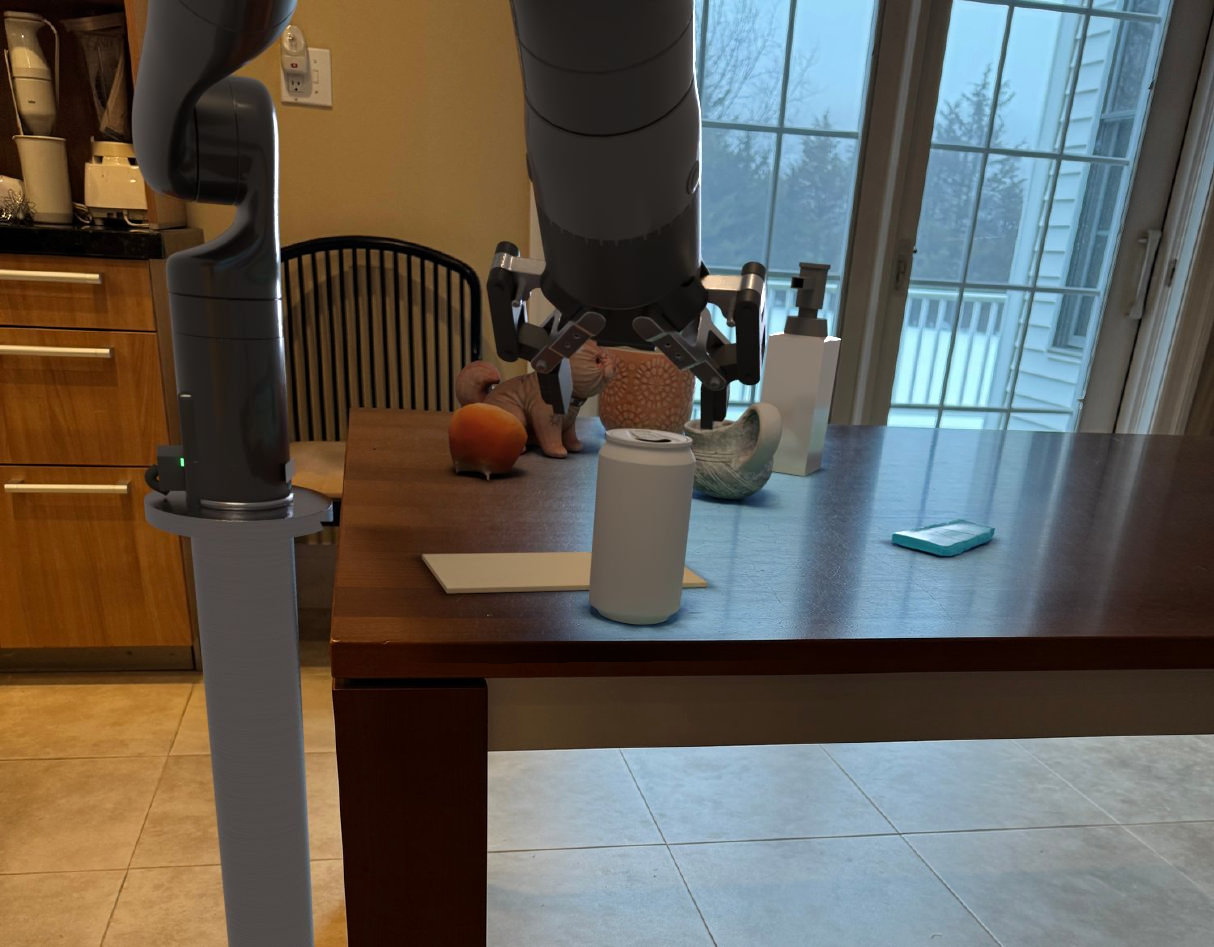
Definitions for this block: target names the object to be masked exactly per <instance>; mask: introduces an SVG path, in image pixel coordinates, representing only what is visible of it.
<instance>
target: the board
mask: <svg viewBox="0 0 1214 947" xmlns="http://www.w3.org/2000/svg"><path fill="white" fill-rule="evenodd" d="M591 555H592V551H569V552H568V551H567V552H566V551H563V552H562V551H560V552H559V551H558V552H557V551H556V552H555V551H554V552H493V553H492V552H490V553H489V552H488V553H486V552H484V553H483V552H482V553H479V552H478V553H423V554H422V555H421V560H422V561H423V562H424V563H425V565H426V566H427V568H428V569H429V570H430V572H431V573H432V575H433V576H434V578H435V579H436V580H437V582H438V583H439V584H440V586H441V587H442V589H443V590H444V592H446V594H479V593H483V594H484V593H519V592H521V593H523V592H524V593H525V592H561V591H562V592H563V591H567V592H568V591H589V583H590V569H591ZM707 585H708V581H706V579H703V578H702V577H701V576H699V575H698V574H696V573H695V572H693V571H692V570H691V569H689V568H688V567H687V566H684V576H683V585H682V589H684V588H685V589H687V588H689V589H690V588H707Z"/></svg>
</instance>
